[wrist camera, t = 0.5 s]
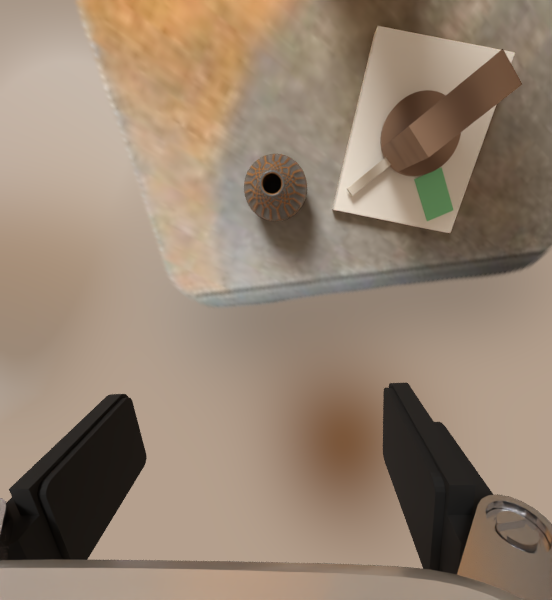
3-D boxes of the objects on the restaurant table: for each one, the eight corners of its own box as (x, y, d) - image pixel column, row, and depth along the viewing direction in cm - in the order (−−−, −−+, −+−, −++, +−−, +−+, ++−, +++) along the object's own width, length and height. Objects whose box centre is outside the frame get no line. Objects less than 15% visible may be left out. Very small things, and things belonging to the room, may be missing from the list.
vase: (317, 189, 35) (324, 180, 27) (279, 232, 37) (274, 236, 28) (275, 147, 34) (269, 124, 26) (238, 194, 36) (220, 186, 27)
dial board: (373, 34, 30) (378, 24, 29) (504, 60, 30) (516, 51, 29) (332, 209, 36) (333, 209, 34) (444, 232, 35) (450, 233, 34)
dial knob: (431, 75, 30) (486, 17, 21) (471, 141, 31) (537, 112, 22) (328, 163, 32) (339, 143, 24) (368, 220, 34) (393, 221, 25)
